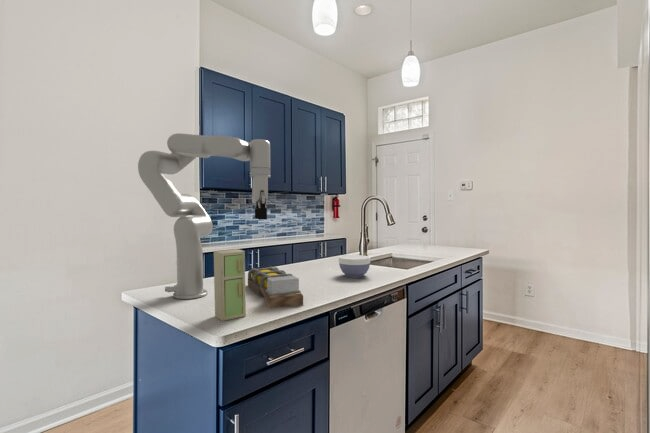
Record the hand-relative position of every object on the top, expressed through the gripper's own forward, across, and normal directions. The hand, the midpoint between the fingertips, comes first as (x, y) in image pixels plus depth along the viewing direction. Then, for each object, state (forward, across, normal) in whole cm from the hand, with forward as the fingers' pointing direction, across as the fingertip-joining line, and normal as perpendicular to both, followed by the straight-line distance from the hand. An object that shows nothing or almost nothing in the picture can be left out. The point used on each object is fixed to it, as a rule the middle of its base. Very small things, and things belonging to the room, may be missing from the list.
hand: (260, 218), depth 130 cm
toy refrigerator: (+31, +18, -12) cm, 38 cm away
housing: (+26, +8, +7) cm, 28 cm away
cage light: (+31, -14, +6) cm, 34 cm away
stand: (+30, +8, +7) cm, 32 cm away
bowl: (+31, -29, +50) cm, 65 cm away
